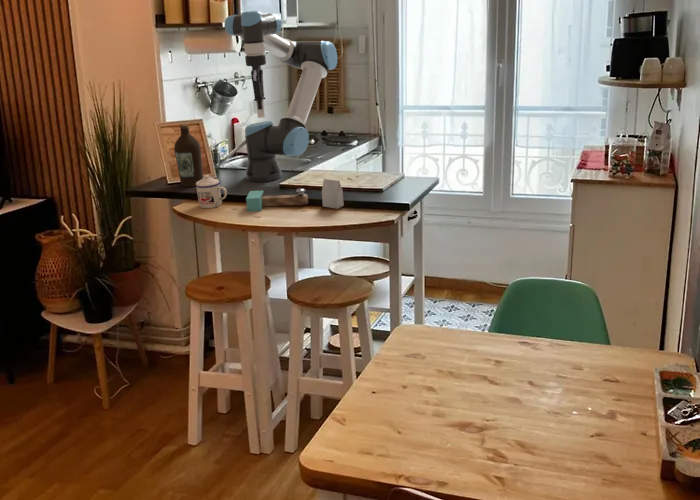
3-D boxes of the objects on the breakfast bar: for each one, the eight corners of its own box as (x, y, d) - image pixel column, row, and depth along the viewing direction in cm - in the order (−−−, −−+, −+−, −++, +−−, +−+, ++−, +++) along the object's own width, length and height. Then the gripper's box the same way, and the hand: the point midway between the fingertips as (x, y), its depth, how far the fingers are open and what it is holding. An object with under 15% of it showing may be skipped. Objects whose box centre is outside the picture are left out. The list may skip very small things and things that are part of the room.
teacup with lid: (194, 208, 283) (190, 178, 279) (205, 201, 291) (201, 171, 287) (223, 209, 280) (219, 179, 275) (233, 202, 288) (229, 172, 283)
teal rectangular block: (251, 203, 284) (250, 191, 282) (264, 203, 284) (263, 190, 282) (247, 211, 275) (245, 198, 273) (260, 211, 275) (259, 198, 273)
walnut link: (308, 201, 282) (308, 193, 281) (307, 205, 277) (306, 197, 276) (252, 203, 283) (251, 195, 282) (250, 207, 279) (249, 199, 278)
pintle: (296, 193, 280) (296, 188, 279) (305, 193, 280) (305, 188, 279) (295, 196, 277) (295, 191, 276) (305, 196, 277) (304, 190, 276)
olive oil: (186, 180, 322) (178, 122, 312) (209, 180, 319) (201, 122, 310) (175, 187, 312) (166, 127, 303) (198, 187, 309) (190, 127, 300)
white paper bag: (338, 208, 272) (336, 182, 269) (322, 206, 276) (320, 180, 272) (343, 205, 275) (341, 179, 271) (328, 203, 279) (326, 177, 275)
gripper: (247, 52, 286) (254, 114, 295) (242, 57, 274) (249, 121, 283) (267, 51, 286) (273, 113, 294) (262, 56, 274) (268, 120, 282)
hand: (261, 117), depth 288 cm, fingers closed
